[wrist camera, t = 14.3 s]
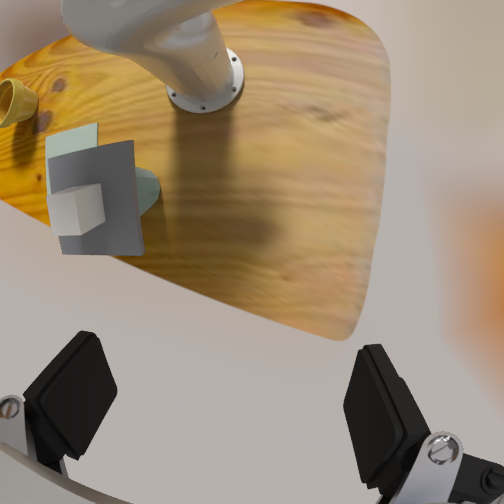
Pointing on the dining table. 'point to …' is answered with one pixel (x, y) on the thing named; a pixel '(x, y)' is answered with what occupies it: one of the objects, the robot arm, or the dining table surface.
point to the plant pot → (16, 102)
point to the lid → (96, 201)
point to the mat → (70, 143)
